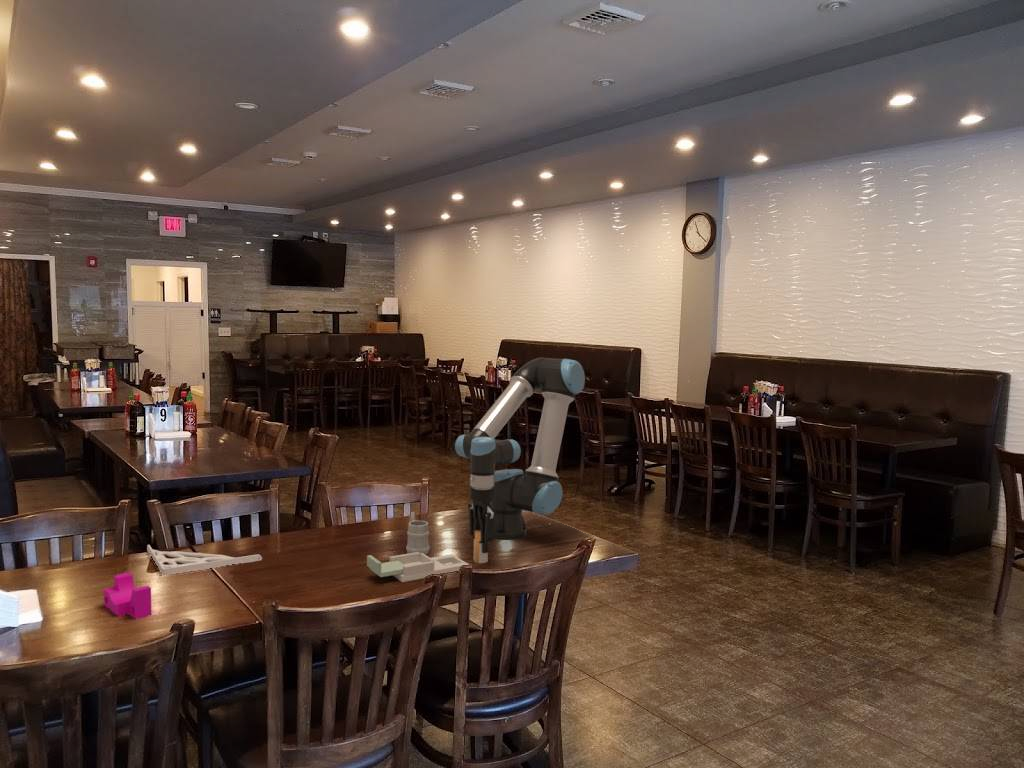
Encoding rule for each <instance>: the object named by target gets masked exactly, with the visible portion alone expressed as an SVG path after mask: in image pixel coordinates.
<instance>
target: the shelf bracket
mask: <svg viewBox="0 0 1024 768" xmlns="http://www.w3.org/2000/svg"><path fill="white" fill-rule="evenodd" d="M146 551H147V552H148V554H149V553H150V552H152V553H150V554H149V556H150V555H152V558H153V560H154V561H155V563H156V565H157V566H158V568H159V570H160V571H161V573H162V574H163V575H167V574H168V575H169V574H176V573H183V572H190V571H197V572H199V571H198V570H204V571H206V570H205V569H210V568H216V567H217V568H222V567H221V566H223V567H227V566H226V565H229V566H233V565H232V564H235V565H240V564H239V563H241V564H246V563H254V562H258V561H259V562H260V561H262V560H263V557H262V555H260V554H253V555H251V554H250V555H246V556H244V555H243V556H238V557H235V556H234V557H233V556H229V555H225V554H211V553H205V552H204V553H203V552H191V551H190V552H189V551H176V550H175V551H161V550H157V549H153V548H152V547H151V545H150V544H147V546H146ZM166 556H168V557H169V558H167V557H166ZM170 557H171V558H170ZM152 558H151V559H152ZM153 560H152V561H153ZM155 563H154V564H155ZM166 563H167V564H166ZM178 563H181V564H178ZM156 565H155V566H156ZM158 568H157V569H158ZM217 568H216V569H217ZM159 570H158V571H159ZM210 570H211V569H210ZM161 573H160V574H161Z"/></svg>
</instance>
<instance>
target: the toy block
mask: <svg viewBox="0 0 1024 768" xmlns="http://www.w3.org/2000/svg"><path fill="white" fill-rule="evenodd" d="M133 577H134V576H133V574H132V573H131V572H125V573H121V574H115V575H113V587H109V588H104V589H103V606H104V605H105V606H106V607H107V609H108V608H109V609H110V610H111V611H112V612H111V611H110V610H109V609H108V610H109V611H110V612H111V613H113V612H114V613H115V614H116V615H118V616H120V615H124V614H128V613H129V614H130V615H129V614H128V615H129V616H131V615H132V616H133V617H134V618H135V619H134V618H133V617H132V616H131V617H132V618H133V619H134V620H137V619H136V618H140V619H143V618H147V617H149V616H148V615H151V616H152V588H151V586H149V585H145V586H140V587H136V588H135V583H134V578H133ZM105 606H104V607H105ZM106 607H105V608H106ZM114 613H113V614H114ZM115 614H114V615H115ZM116 615H115V616H116ZM118 616H117V617H118ZM124 616H125V615H124ZM146 616H147V617H146ZM120 617H121V616H120ZM142 617H143V618H142Z"/></svg>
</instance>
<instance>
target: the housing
mask: <svg viewBox="0 0 1024 768" xmlns="http://www.w3.org/2000/svg"><path fill="white" fill-rule="evenodd" d="M392 561H399V562H401V563H402V564H404V565H405V566H403V573H401V574H396V575H392V577H394V578H396V579H397V580H398V581H400V582H401V583H406V582H411V581H417V580H421V579H426V578H425V577H426V576H428V575H431V574H440V573H447V572H454V571H459V569H460V567H461V566H462V565H469V566H470V563H467V562H466V561H464V560H462V559H461V558H459V557H457V556H456V555H454V554H453V553H451V554H444V555H439V556H434V557H433V556H432V557H430V556H428V555H427V554H426V555H425V554H423V553H419V552H415V553H409V554H408V553H405V554H404V553H403V554H399V555H392V556H389V561H388V562H392ZM445 564H446V565H445ZM459 572H460V571H459ZM454 573H455V572H454Z"/></svg>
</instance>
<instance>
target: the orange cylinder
mask: <svg viewBox="0 0 1024 768" xmlns="http://www.w3.org/2000/svg"><path fill="white" fill-rule="evenodd" d="M479 541H481V530H475V549H474V548H473V559H474V560H473V562H474V563H476V564H482V563H479V552H480V543H479ZM486 563H487V562H485V563H484V564H486Z"/></svg>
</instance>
